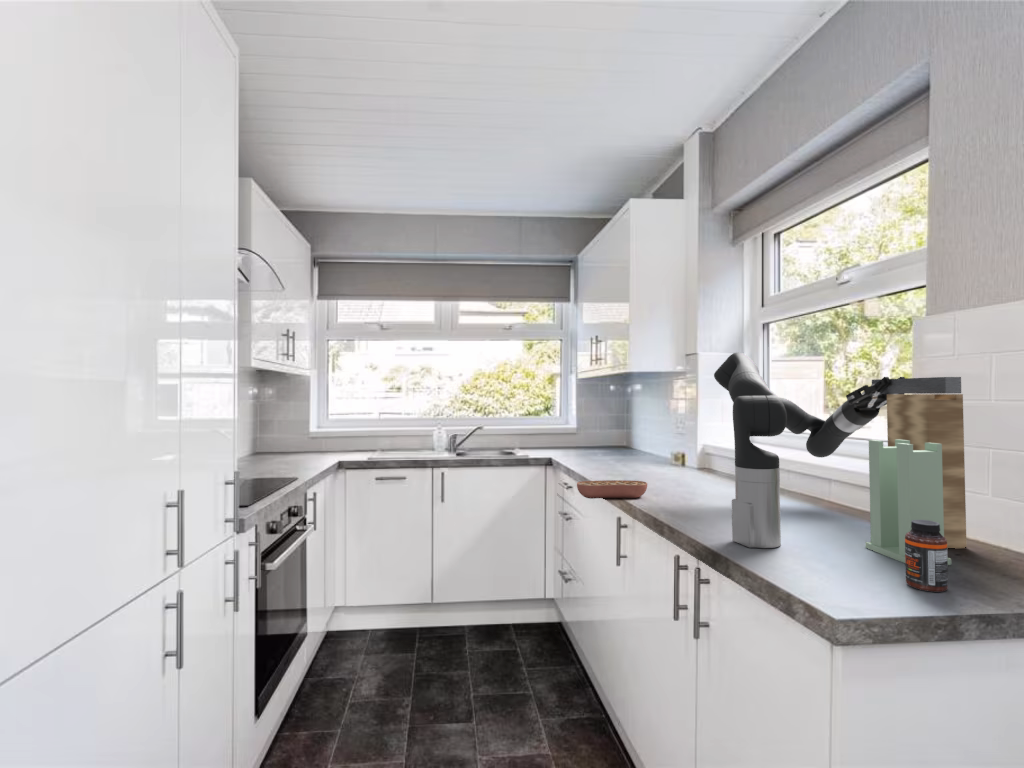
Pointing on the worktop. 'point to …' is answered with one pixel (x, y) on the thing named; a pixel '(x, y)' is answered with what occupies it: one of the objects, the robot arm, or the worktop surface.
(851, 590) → the worktop surface
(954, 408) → the wooden block
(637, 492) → the bread loaf
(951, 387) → the rail
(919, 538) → the supplement bottle
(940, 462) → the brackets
